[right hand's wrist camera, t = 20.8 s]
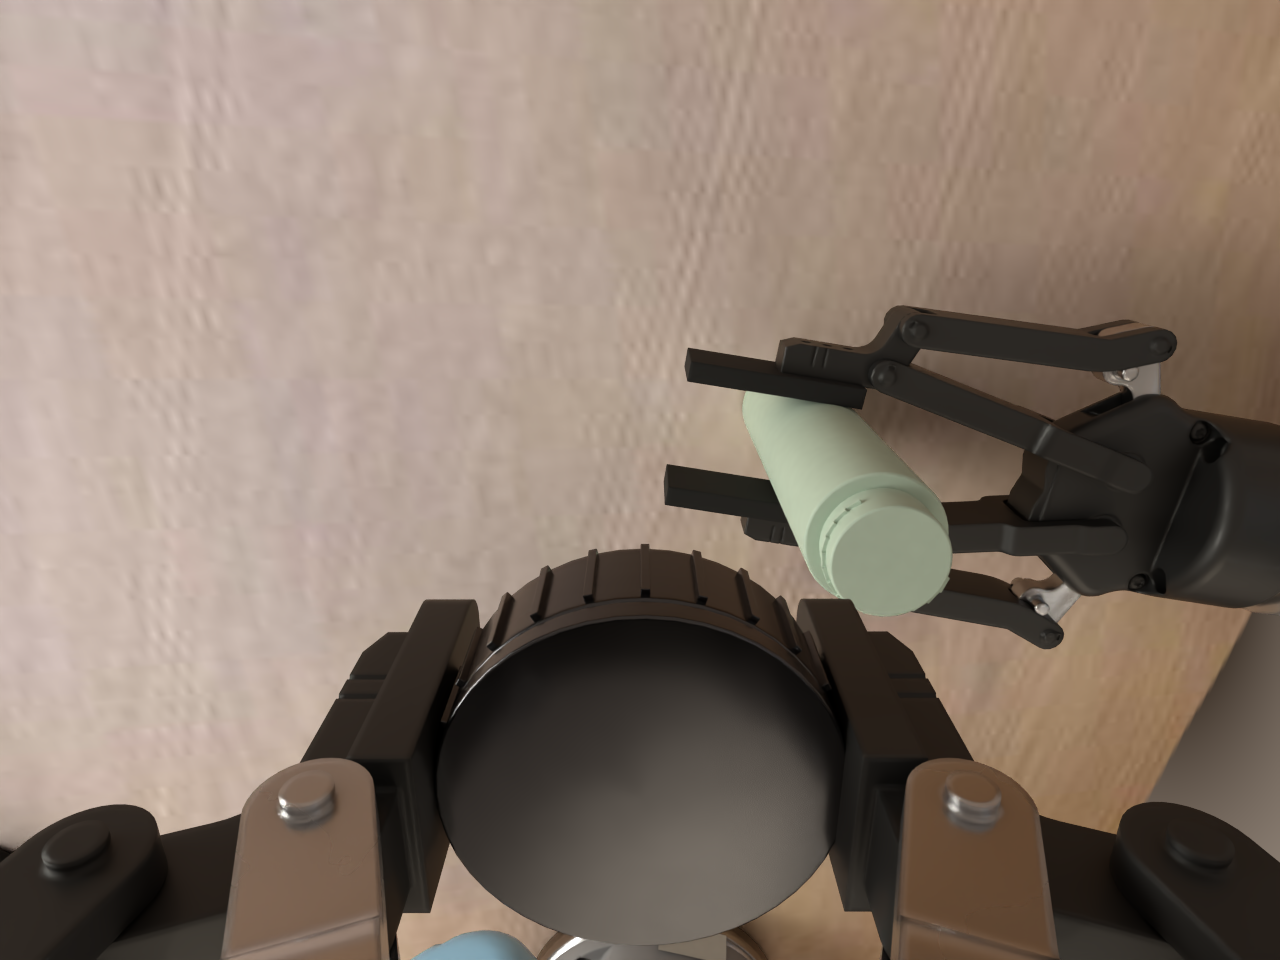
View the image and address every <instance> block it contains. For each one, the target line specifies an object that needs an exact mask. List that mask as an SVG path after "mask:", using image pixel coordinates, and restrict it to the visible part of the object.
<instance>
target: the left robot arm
mask: <svg viewBox="0 0 1280 960" xmlns="http://www.w3.org/2000/svg"><path fill="white" fill-rule="evenodd" d="M1176 346H1177V340H1176V336H1175V335H1174V334H1173V333H1172V332H1171V331H1168V330H1165V329H1162V328H1158V327H1154V326H1150V325H1146V324H1142V323H1139V322H1135V321H1131V320H1119V321H1115V322H1110V323H1105V324H1100V325H1096V326H1091V327H1086V328H1081V329H1072V328H1065V327H1058V326H1050V325H1043V324H1036V323H1028V322H1021V321H1014V320H1006V319H999V318H992V317H984V316H977V315H970V314H962V313H955V312H948V311H940V310H933V309H926V308H918V307H911V306H904V305H902V306H895V307H893V308H891V309H890V310H889V311H888V312H887V313H886V316H885V318H884V325H883V327H882V328H881V330H880V331H879V333H878V335H877V336H876V337H875V339H874V340H873V341H872V342H870V343H869V344H867V345H865V346H861V347H850V346H844V345H838V344H832V343H825V342H819V341H813V340H807V339H801V338H795V337H793V338H789V339H784V340H780V343H779V348H778V352H777V357H776V361H775V362H773V361H766V360H760V359H754V358H748V357H742V356H736V355H730V354H723V353H717V352H711V351H705V350H699V349H693V348H688V350H687V356H686V361H685V371H686V376H687V381H688V382H694V383H700V384H707V385H713V386H719V387H725V388H731V389H738V390H744V391H750V392H756V393H762V394H769V395H775V396H781V397H787V398H793V399H800V400H806V401H812V402H818V403H824V404H831V405H837V406H843V407H849V408H855V409H862V407H863V403H864V399H865V396H866V392H867V389H866V388H872V389H876V390H878V391H879V392H881V393H884V394H886V395H889V396H891V397H894V398H896V399H899V400H901V401H904V402H906V403H909V404H911V405H914V406H917V407H919V408H922V409H924V410H927V411H929V412H932V413H934V414H937V415H939V416H942V417H944V418H947V419H949V420H952V421H954V422H957V423H959V424H962V425H964V426H967V427H969V428H972V429H975V430H977V431H980V432H982V433H985V434H987V435H990V436H992V437H995V438H997V439H1000V440H1002V441H1005V442H1007V443H1010V444H1012V445H1015V446H1017V447H1020V448H1022V449H1025V450H1024V453H1023V463H1022V474H1021V476H1020V477H1019V479H1018V480H1017V482H1016V483H1015V485H1014V487H1013V488H1012V490H1011V492H1010V495H999V496H985V497H982V498H981V499H980V500H978V501H964V502H941V504H942V506H943V508H944V510H945V513H946V516H947V521H948V532H949V534H948V536H949V539H950V541H951V546H952V553H974V552H1003V553H1006V554H1009V555H1013V556H1038V557H1039V558H1040V559H1041V560H1042V561H1043V562H1044V563H1045V565H1046V566H1047V567H1048V568H1049V569H1050V570H1051V571H1052V572H1053V574H1052V575H1051V576H1050V577H1049V578H1047V579H1045V580H1041V581H1036V580H1032V579H1022V578H1015V579H1013V580H1012V582H1011V585H1010V584H1008V583H1006V582H1004V581H1002V580H1000V579H997V578H994V577H991V576H987V575H983V574H977V573H972V572H966V571H961V570H955V569H950V573H949V575H948V577H949V578H950V579H949V581H948V582H947V584H946V586H945V588H944V589H943V591H942V593H940V592H939V593H938V594H937V595H936V596H935V597H934V599H933V600H932V601H931V602H930V603H929V604H928V603H926V604H924V605H923V606H921V607H920V608H918V609H916V610H915V611H911V612H914V613H920V614H926V615H931V616H937V617H943V618H948V619H954V620H960V621H965V622H971V623H976V624H982V625H988V626H993V627H999V628H1005V629H1008V630H1010V631H1012V632H1013V633H1015V634H1017V635H1019V636H1020V637H1022V638H1024V639H1025V640H1027V641H1029V642H1031V643H1032V644H1034V645H1036V646H1038V647H1039V648H1042V649H1051V648H1054V647H1056V646H1057V645H1059V644H1060V643H1061V641H1062V640H1063V636H1064V632H1063V629H1062V628H1061V627H1060V626H1059V625H1058V624H1057V622H1058V621H1059V620H1060V619H1061V618H1062V617H1063V616H1064V614H1065V613H1066V612H1067V611H1068V610H1069V609H1070V608H1071V606H1072V605H1073V604H1074V603H1075V602H1076V601H1077V600H1078V598H1079V597H1080V596H1081V595H1083V596H1099V595H1102V594H1105V593H1109V592H1113V591H1120V590H1127V591H1132V592H1137V593H1141V594H1145V595H1150V596H1155V597H1161V598H1168V599H1174V600H1181V601H1187V602H1194V603H1200V604H1207V605H1213V606H1220V607H1227V608H1243V609H1246V610H1248V611H1251V612H1256V613H1263V614H1270V615H1277V616H1280V426H1279V425H1276V424H1272V423H1268V422H1262V421H1256V420H1250V419H1244V418H1238V417H1232V416H1225V415H1219V414H1213V413H1207V412H1201V411H1195V410H1189V409H1183V408H1181V407H1180V406H1179V405H1178V404H1177V403H1176V402H1175V401H1173V400H1172V399H1171V398H1169V397H1167V396H1165V395H1161V382H1160V362H1163V361H1165V360H1167V359H1168V358H1169V357H1171V356H1172V355H1173V353H1174V351H1175V350H1176ZM920 349H927V350H935V351H942V352H950V353H957V354H964V355H972V356H979V357H987V358H994V359H1002V360H1009V361H1016V362H1024V363H1031V364H1039V365H1046V366H1054V367H1061V368H1068V369H1076V370H1083V371H1092V373H1093V375H1094V376H1095V377H1096V378H1097V379H1100V380H1102V381H1105V382H1107V383H1109V384H1112V385H1118V386H1119V388H1120V392H1119V393H1117V394H1114V395H1112V396H1110V397H1108V398H1105V399H1103V400H1101V401H1099V402H1096V403H1094V404H1092V405H1090V406H1087V407H1085V408H1083V409H1080V410H1078V411H1076V412H1074V413H1071V414H1069V415H1067V416H1065V417H1062V418H1060V419H1058V420H1053V419H1051V418H1048V417H1046V416H1043V415H1041V414H1038V413H1036V412H1033V411H1031V410H1028V409H1026V408H1023V407H1021V406H1017V405H1014V404H1011V403H1009V402H1006V401H1004V400H1001V399H999V398H996V397H994V396H991V395H989V394H986V393H984V392H981V391H979V390H976V389H974V388H972V387H969V386H967V385H964V384H962V383H959V382H957V381H954V380H952V379H949V378H947V377H944V376H942V375H939V374H937V373H934V372H932V371H929V370H927V369H924V368H922V367H919V366H917V365H914V364H912V363H911V362H912V360H913V359H914V357H915V356H916V354H917V353H918V351H919V350H920ZM865 387H866V388H865ZM664 496H665V505H670V506H676V507H683V508H689V509H696V510H702V511H709V512H715V513H722V514H728V515H735V516H741V524H742V527H743V531H744V534H746V535H748V536H749V537H751V538H753V539H755V540H759V541H765V542H772V543H778V544H779V543H781V544H785V545H791V546H798V543H797V541H796V539H795V536H794V534H793V532H792V530H791V527H790V525H789V523H788V521H787V518H786V516H785V514H784V511H783V509H782V507H781V505H780V502H779V500H778V498H777V495H776V493H775V491H774V489H773V486H772V484H771V482H770V480H765V479H759V478H752V477H746V476H739V475H733V474H727V473H720V472H714V471H707V470H701V469H695V468H688V467H682V466H675V465H669V464H667V466H666V472H665V477H664ZM798 547H799V546H798ZM411 960H767V958H766V957H765V955H764V954H763V952H762V950H761V949H760V948H759V947H758V945H757V944H756V943H755V942H754V941H753V940H752V939H751V938H750V937H749V936H748V935H747V934H746V933H745V932H744V931H742V930H741V929H740V928H738V927H737V928H735V929H732V930H729V931H726V932H723V933H720V934H717V935H714V936H711V937H706V938H702V939H698V940H694V941H689V942H682V943H675V944H667V945H649V946H633V945H615V944H608V943H602V942H595V941H590V940H586V939H582V938H578V937H574V936H570V935H566V934H564V933H561V932H557V933H556V934H555V935H554V936H553V937H552V938H551V939H550V940H549V941H548V943H547V944H546V945H545V946H544V947H543V949H542V950H541V952H540V953H539V955H538V957H537V959H536V958H535V957H534V955H533V954H532V953H531V952H530V951H529V950H528V949H527V948H526V947H525V946H524V945H523V944H522V943H521V942H520V941H519V940H518V939H516V938H515V937H513V936H511V935H509V934H505V933H502V932H498V931H490V930H484V931H474V932H469V933H464V934H461V935H459V936H456V937H453V938H452V939H450V940H449V941H447V942H445V943H443V944H437V945H434V946H432V947H430V948H429V949H427V950H425V951H423V952H422V953H420V954H419V955H417V956H415V957H414V958H412V959H411Z"/></svg>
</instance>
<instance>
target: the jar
mask: <svg viewBox="0 0 1280 960" xmlns="http://www.w3.org/2000/svg"><path fill="white" fill-rule="evenodd" d="M742 412H743V418H744V422H745V425H746V427H747V429H748V432H749V434H750V436H751V439H752V441H753V443H754V445H755V448H756V450H757V452H758V454H759V457H760V459H761V461H762V464H763V466H764V468H765V470H766V473H767V475H768V477H769V480H770V482H771V484H772V486H773V489H774V491H775V493H776V495H777V498H778V500H779V502H780V505H781V507H782V509H783V511H784V514H785V516H786V518H787V521H788V523H789V525H790V527H791V530H792V532H793V534H794V536H795V539H796V541H797V543H798V546H799V548H800V550H801V552H802V555H803V557H804V559H805V562H806V564H807V566H808V568H809V570H810V572H811V574H812V575H813V577H814V578H815V580H816V581H817V582H818V583H819V584H820V585H821V586H822V587H823V588H824V589H825V590H827V591H828V592H830V593H831V594H833V595H834V596H836V597H838V598H839V599H851V600H852V602H853V603H854V605H855V608H856V610H858V611H860V612H863V613H865V614H869V615H874V616H898V615H901V614H905V613H908V612H911V611H915V610H916V609H918V608H920V607H921V606H923V605H924V604H926V603H928V604H929V603H930V602H931V601H932V600H933V599H934V597H935V596H936V595H937V594H938V593H939V592H940V593H942V591H943V589H944V588H945V586H946V584H947V582H948V581H949V579H950V578H949V577H948V575H949V573H950V569H951V565H952V546H951V541H950V539H949V536H948V534H949V532H948V521H947V516H946V513H945V510H944V508H943V506H942V504H941V502H940V500H939V499H938V498H937V496H936V495H935V494H934V493H933V491H932V490H931V489H930V488H929V487H928V486H927V485H926V484H925V483H924V482H923V481H922V480H921V479H920V478H919V477H918V476H917V475H916V474H915V473H914V472H913V471H912V470H911V469H910V468H909V467H908V466H907V465H906V464H905V463H904V462H903V461H902V459H901V458H900V457H899V456H898V455H897V454H896V453H895V452H894V451H893V450H892V449H891V448H890V447H889V446H888V445H887V444H886V443H885V442H884V441H883V440H882V439H881V438H880V437H879V436H878V435H877V434H876V433H875V432H874V431H873V430H872V429H871V427H870V426H869V425H868V424H867V423H866V422H865V421H864V420H863V419H862V418H861V417H860V416H859V415H858V414H857V413H856V412H855V411H854V410H853V409H852V408H849V407H843V406H837V405H831V404H824V403H818V402H812V401H806V400H800V399H793V398H787V397H781V396H775V395H769V394H762V393H756V392H750V391H746V393H745V396H744V400H743V408H742Z"/></svg>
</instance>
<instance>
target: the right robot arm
mask: <svg viewBox="0 0 1280 960" xmlns="http://www.w3.org/2000/svg"><path fill="white" fill-rule="evenodd" d="M796 622H797V624H798V625H799V627H800V628H801V630H802V631H803V633H804V632H807V631H810V633H811V635H812V637H813V639H814V642H815V645H816V647H817V650H818V653H819V656H820V658H821V661H822V664H823V666H824V669H825V672H826V675H827V677H828V680H829V683H830V685H831V688H832V689H831V690H829V691H827V692H828V695H829V698H830V701H831V704H832V706H833V709H834V712H835V715H836V718H837V720H838V723H839V726H840V729H841V732H842V735H843V738H844V742H845V747H846V752H845V763H844V772H843V780H842V789H841V798H840V806H839V815H838V824H837V833H836V840H835V843H834V844H833V846H832V848H831V850H830V851H829V856H830V860H831V864H832V867H833V871H834V875H835V878H836V882H837V886H838V889H839V893H840V897H841V900H842V904H843V908H844V911H872V914H873V917H874V920H875V924H876V927H877V930H878V933H879V937H880V940H881V942H882V947H881V953H880V960H1280V862H1278V861H1277V860H1276V859H1275V858H1273V857H1272V856H1271V855H1270V854H1268V853H1267V852H1266V851H1265V850H1264V849H1262V848H1261V847H1260V846H1259V845H1257V844H1256V843H1255V842H1254V841H1252V840H1251V839H1250V838H1249V837H1247V836H1246V835H1245V834H1243V833H1242V832H1241V831H1239V830H1238V829H1236V828H1234V827H1233V826H1231V825H1230V824H1228V823H1226V822H1224V821H1222V820H1220V819H1218V818H1216V817H1214V816H1212V815H1210V814H1207V813H1205V812H1203V811H1200V810H1197V809H1194V808H1191V807H1187V806H1183V805H1179V804H1174V803H1166V802H1148V803H1142V804H1139V805H1135V806H1133V807H1131V808H1130V809H1128V810H1127V811H1126V812H1125V813H1124V814H1123V816H1122V819H1121V821H1120V824H1119V828H1118V831H1117V835H1116V834H1111V833H1107V832H1103V831H1099V830H1094V829H1090V828H1086V827H1082V826H1077V825H1073V824H1069V823H1065V822H1060V821H1057V820H1053V819H1050V818H1046V817H1044V816H1041V815H1039V813H1038V810H1037V807H1036V805H1035V803H1034V801H1033V800H1032V798H1031V797H1030V796H1029V794H1028V793H1027V792H1026V791H1025V790H1024V789H1023V788H1022V787H1021V786H1020V785H1019V784H1018V783H1017V782H1015V781H1014V780H1013V779H1012V778H1010V777H1008V776H1007V775H1005V774H1004V773H1002V772H1000V771H998V770H996V769H994V768H992V767H989V766H987V765H984V764H981V763H978V762H974V760H973V758H972V756H971V755H970V753H969V751H968V749H967V748H966V746H965V744H964V742H963V740H962V739H961V737H960V735H959V733H958V732H957V730H956V728H955V726H954V724H953V723H952V721H951V719H950V717H949V715H948V714H947V712H946V710H945V708H944V707H943V705H942V703H941V701H940V699H939V698H936V692H935V690H934V689H933V687H932V685H931V683H930V682H929V680H928V679H926V678H925V673H924V671H923V669H922V667H921V665H920V664H919V662H918V660H917V658H916V657H915V655H914V653H913V651H912V650H910V649H909V648H908V647H907V646H905V645H904V644H903V643H901V642H900V641H899V640H898V639H896V638H895V637H894V636H893V635H891V634H890V633H889V632H867V630H866V628H865V626H864V624H863V622H862V620H861V618H860V616H859V614H858V612H857V610H856V608H855V605H854V603H853V602H852V600H851V599H801V600H800V602H799V605H798V611H797V621H796ZM477 627H480V622H479V612H478V606H477V603H476V601H475V600H425V601H424V602H423V604H422V605H421V607H420V609H419V611H418V614H417V616H416V618H415V620H414V622H413V624H412V626H411V628H410V630H409V632H388V633H387V634H385V635H384V636H383V637H381V638H380V639H379V640H378V641H376V642H375V643H374V644H373V645H371V646H370V647H369V648H367V649H366V650H365V651H364V652H363V653H362V654H361V656H360V658H359V660H358V661H357V663H356V665H355V667H354V668H353V670H352V672H351V674H350V679H349V680H347V681H346V683H345V684H344V686H343V688H342V690H341V691H340V693H339V699H336V700H335V702H334V704H333V705H332V707H331V709H330V711H329V712H328V714H327V716H326V718H325V720H324V721H323V723H322V725H321V727H320V728H319V730H318V732H317V734H316V735H315V737H314V739H313V741H312V742H311V744H310V746H309V748H308V749H307V751H306V753H305V755H304V756H303V758H302V760H301V762H300V763H299V764H296V765H293V766H291V767H288V768H286V769H284V770H282V771H280V772H278V773H276V774H275V775H273V776H272V777H270V778H268V779H267V780H266V781H265V782H263V783H262V784H261V785H260V786H259V787H258V788H257V789H256V790H255V791H254V792H253V793H252V794H251V795H250V797H249V798H248V800H247V801H246V803H245V805H244V807H243V810H242V813H241V814H239V815H237V816H234V817H231V818H229V819H226V820H222V821H218V822H215V823H211V824H207V825H202V826H198V827H194V828H190V829H185V830H181V831H177V832H173V833H168V834H164V835H160V833H159V830H158V826H157V823H156V821H155V818H154V817H153V816H152V815H151V813H150V812H148V811H146V810H145V809H143V808H140V807H137V806H133V805H125V804H124V805H107V806H101V807H96V808H92V809H88V810H85V811H82V812H79V813H76V814H73V815H71V816H68V817H66V818H64V819H62V820H60V821H58V822H56V823H54V824H52V825H50V826H48V827H47V828H45V829H43V830H42V831H40V832H39V833H37V834H36V835H34V836H33V837H32V838H30V839H29V840H28V841H26V842H25V843H24V844H23V845H21V846H20V847H19V848H18V849H16V850H15V851H14V852H13V853H11V854H10V855H9V856H8V857H7V858H5V859H4V860H3V861H2V862H0V960H400V953H399V947H398V940H397V934H396V932H397V929H398V926H399V923H400V920H401V916H402V913H430V912H431V908H432V904H433V901H434V897H435V894H436V890H437V887H438V883H439V879H440V876H441V872H442V869H443V865H444V862H445V858H446V854H447V851H448V847H449V844H450V842H449V840H448V838H447V836H446V833H445V831H444V828H443V825H442V822H441V819H440V816H439V812H438V807H437V801H436V796H435V765H436V758H437V751H438V747H439V744H440V741H441V738H442V735H443V732H444V729H442V728H439V724H440V720H441V717H442V715H443V712H444V709H445V706H446V703H447V701H448V698H449V695H450V692H451V690H452V687H453V684H454V681H455V678H456V676H457V673H458V670H459V667H460V666H462V664H463V662H464V659H465V656H466V653H467V650H468V647H469V645H470V642H471V639H472V636H473V633H474V631H475V630H476V628H477Z"/></svg>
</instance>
